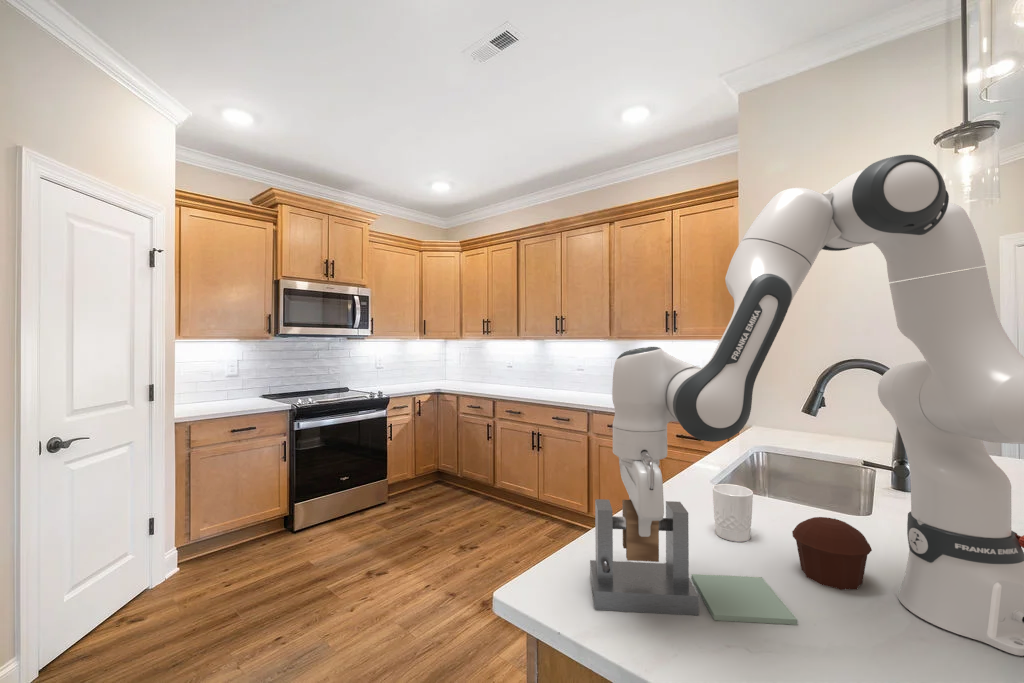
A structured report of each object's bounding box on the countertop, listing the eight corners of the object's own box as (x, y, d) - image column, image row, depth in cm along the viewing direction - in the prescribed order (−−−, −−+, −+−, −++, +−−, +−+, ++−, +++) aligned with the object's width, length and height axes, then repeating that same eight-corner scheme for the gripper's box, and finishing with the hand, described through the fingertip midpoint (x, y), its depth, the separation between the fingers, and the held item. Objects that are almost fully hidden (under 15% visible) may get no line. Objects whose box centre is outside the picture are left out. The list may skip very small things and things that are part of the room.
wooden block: (652, 546, 78) (651, 500, 78) (658, 561, 73) (658, 512, 73) (622, 545, 79) (622, 499, 79) (627, 560, 74) (627, 511, 73)
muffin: (855, 566, 85) (855, 513, 85) (885, 598, 74) (884, 538, 74) (784, 557, 88) (783, 506, 88) (802, 588, 78) (802, 530, 78)
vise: (681, 580, 80) (681, 496, 80) (698, 615, 70) (698, 519, 70) (590, 576, 82) (589, 494, 82) (594, 609, 72) (593, 515, 72)
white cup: (718, 524, 104) (718, 481, 104) (756, 534, 99) (756, 488, 99) (708, 536, 98) (708, 490, 98) (748, 547, 93) (748, 498, 93)
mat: (761, 581, 80) (761, 577, 80) (797, 624, 68) (797, 619, 68) (691, 578, 81) (691, 574, 81) (714, 620, 69) (714, 614, 69)
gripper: (674, 461, 65) (675, 556, 65) (647, 431, 85) (647, 504, 86) (630, 460, 66) (630, 554, 66) (613, 431, 86) (613, 503, 86)
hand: (640, 525), depth 76 cm, fingers closed on wooden block, 5 cm apart
